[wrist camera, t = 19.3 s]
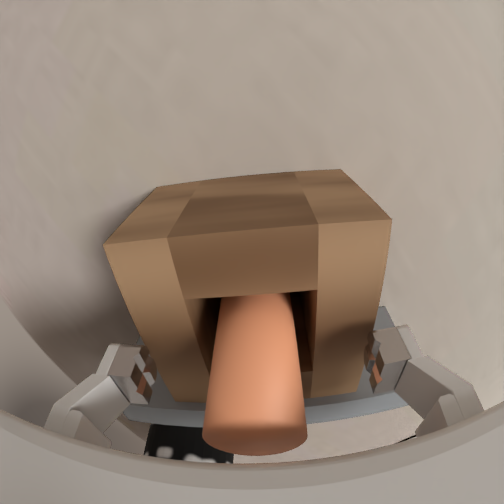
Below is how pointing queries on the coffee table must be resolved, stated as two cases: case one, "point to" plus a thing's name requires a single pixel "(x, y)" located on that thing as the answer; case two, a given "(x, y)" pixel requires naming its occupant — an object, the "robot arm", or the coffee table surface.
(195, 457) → the white-spotted black cylinder
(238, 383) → the orange rounded capsule
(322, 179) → the block
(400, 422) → the coffee table surface
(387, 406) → the slab
